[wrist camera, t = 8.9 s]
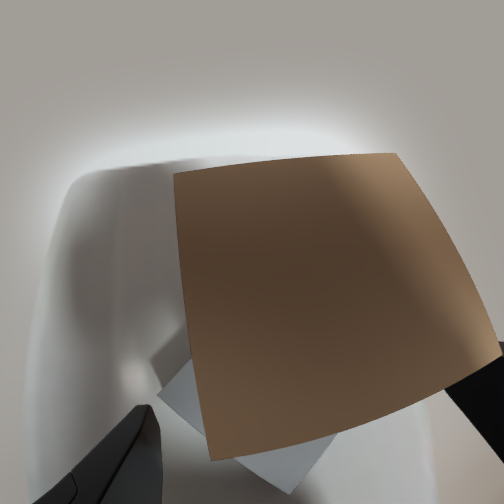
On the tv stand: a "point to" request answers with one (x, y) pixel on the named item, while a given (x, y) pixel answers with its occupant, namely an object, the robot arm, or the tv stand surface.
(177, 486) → the tv stand surface
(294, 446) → the grey block
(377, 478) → the tv stand surface
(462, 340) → the walnut block
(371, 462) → the tv stand surface
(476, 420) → the robot arm
